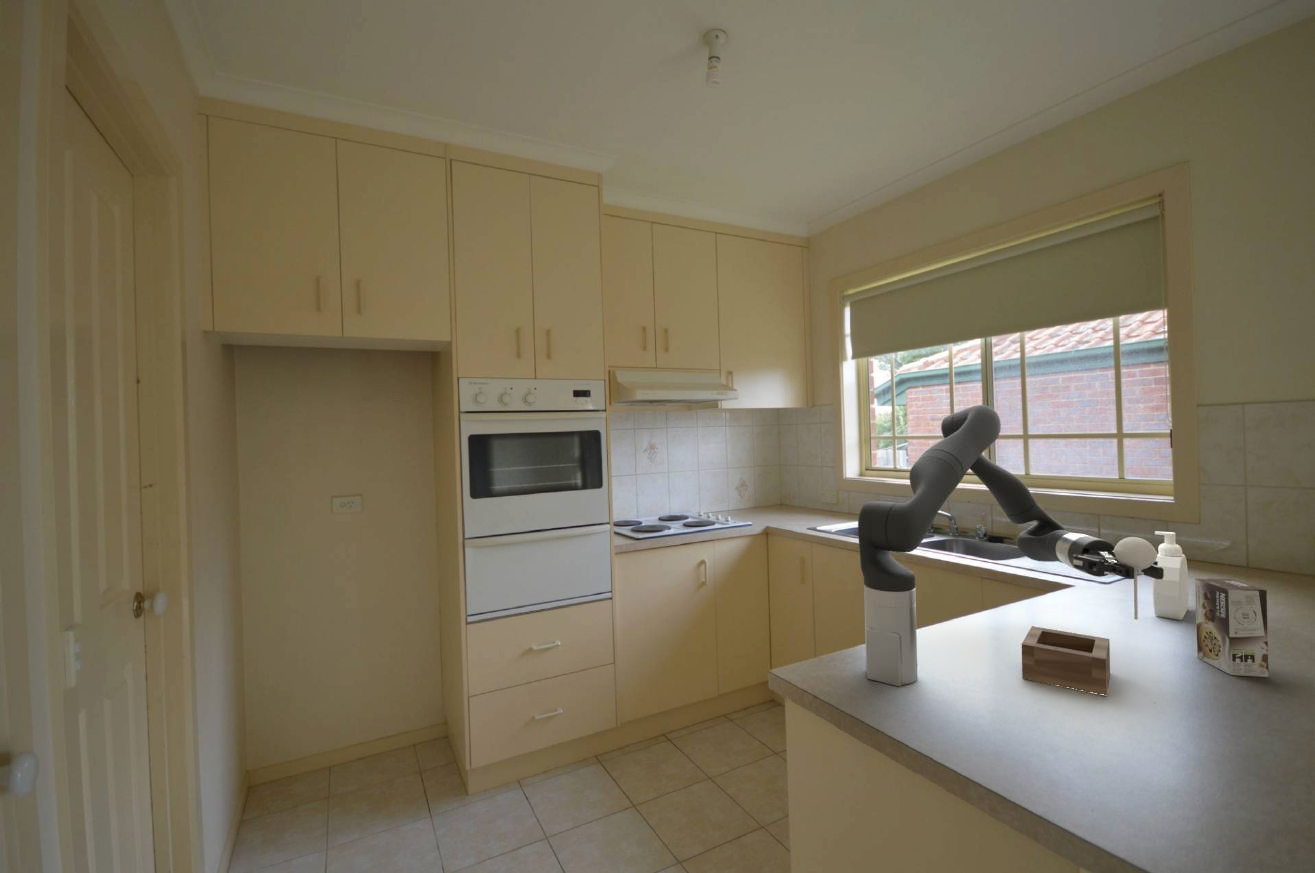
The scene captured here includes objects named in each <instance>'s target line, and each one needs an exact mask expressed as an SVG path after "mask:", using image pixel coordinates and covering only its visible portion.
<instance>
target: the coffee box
mask: <svg viewBox="0 0 1315 873" xmlns="http://www.w3.org/2000/svg"><path fill="white" fill-rule="evenodd" d="M1194 586H1195V587H1194V590H1195V591H1194V592H1195V593H1194V594H1195V595H1194V596H1195V618H1196V619H1195V620H1196V621H1195V622H1196V623H1195V624H1196V644H1197V645H1196V646H1197V650H1196V651H1197V652H1196V653H1197V659H1199V660H1201V661H1203V662H1205V663H1206V664H1209V665H1211V666H1213V667H1215V668H1216V669H1218V670H1221V671H1222V672H1223V673H1226V674H1228V675H1230V676H1240V677H1241V676H1242V677H1256V678H1257V677H1259V678H1269V673H1270V672H1269V644H1268V642H1269V641H1268V640H1269V639H1268V638H1269V637H1268V633H1269V632H1268V596H1267V594H1268V593H1267V592H1268V590H1267V589H1264V588H1261V587H1257V586H1254V585H1251V584H1248V583H1245V582H1242V581H1239V580H1235V579H1233V578H1194Z"/></svg>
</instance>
